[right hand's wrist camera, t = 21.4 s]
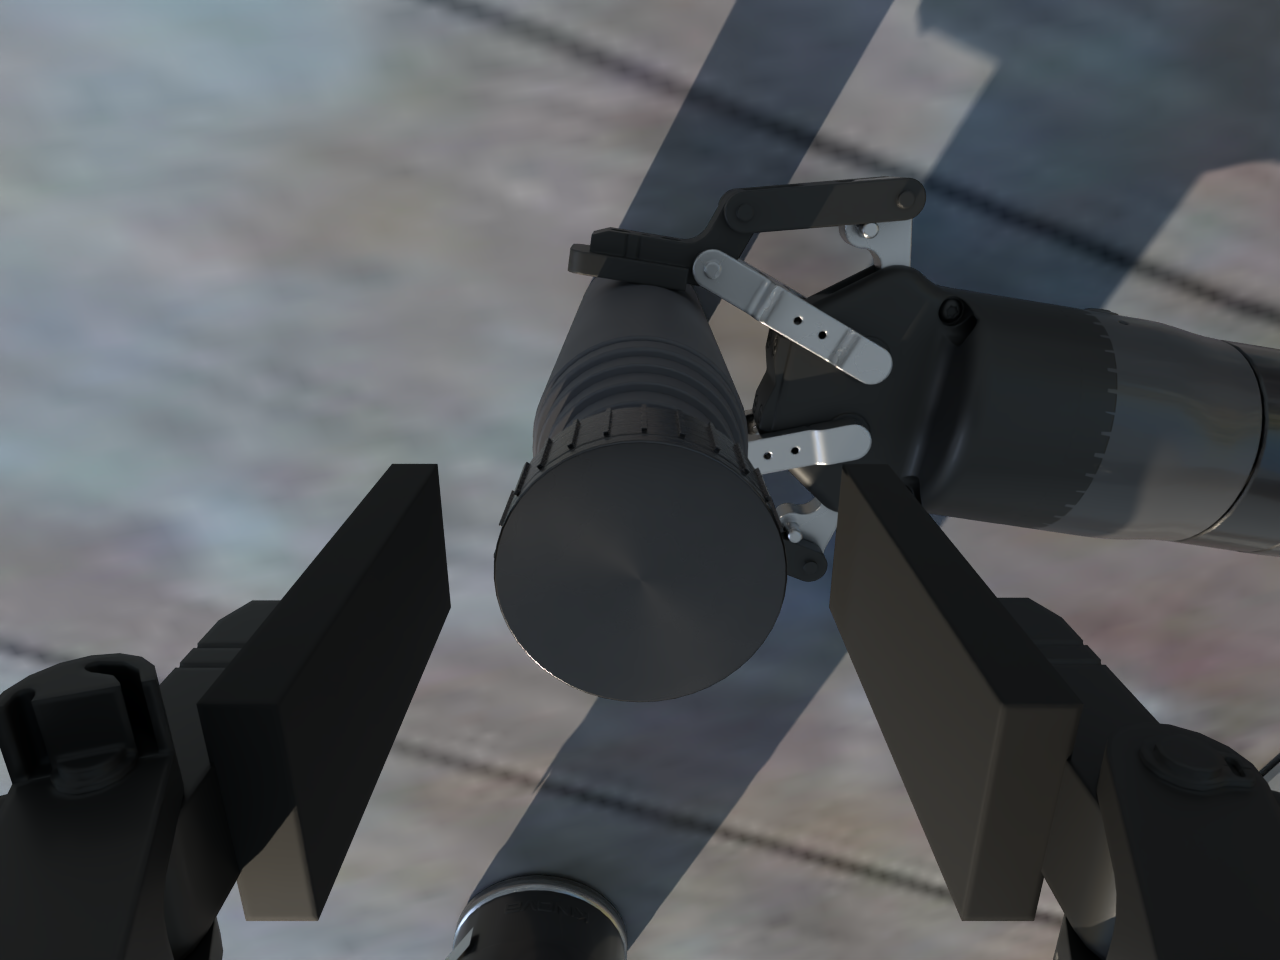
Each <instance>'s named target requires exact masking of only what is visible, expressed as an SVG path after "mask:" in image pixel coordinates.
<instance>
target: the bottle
mask: <svg viewBox="0 0 1280 960" xmlns="http://www.w3.org/2000/svg"><path fill="white" fill-rule="evenodd" d="M642 404H646V405H647V407H651V408H662V409H667V410H672V411H676V410H677V409H679V410H682V413H683V414H686V415H689V416H692V417H695V418H697V419H699V420H701V421H703V422H705V423H707V424H709V422H711V423H713V424H714V427H715V429H717V430H718V431H720V432H721V433H723V434H724V435H725V436H727V437H728V438H729V439H730V440H731V441H732V442H733V443H736V442H738V443H739V444H740V445H741V448H742V451H743V453H744V454H745V455H746V456H747V458H748V429H747V420H746V416H745V412H744V408H743V405H742V403H741V400H740V398H739V395H738V393H737V390H736V388H735V386H734V383H733V381H732V378H731V376H730V374H729V371H728V369H727V366H726V364H725V362H724V359H723V357H722V354H721V352H720V350H719V347H718V345H717V343H716V340H715V338H714V335H713V333H712V331H711V328H710V326H709V323H708V321H707V319H706V316H705V314H704V311H703V309H702V307H701V304H700V302H699V300H698V297H697V295H696V292H695V291H694V289H693V287H692V285H691V284H686V290H685V291H680V290H674V289H668V288H662V287H657V286H651V285H643V284H637V283H631V282H624V281H618V280H612V279H606V278H600V277H596V278H595V279H594V280H593V281H592V282H591V284H590V285H589V287H588V288H587V290H586V292H585V294H584V297H583V299H582V301H581V304H580V306H579V309H578V311H577V313H576V316H575V318H574V321H573V323H572V325H571V328H570V330H569V333H568V335H567V337H566V340H565V342H564V345H563V347H562V349H561V352H560V354H559V357H558V359H557V361H556V364H555V366H554V369H553V371H552V373H551V376H550V378H549V380H548V383H547V385H546V388H545V390H544V392H543V395H542V397H541V400H540V403H539V405H538V408H537V411H536V416H535V421H534V429H533V458H534V457H535V455H536V454H537V453H538V452H539V451H540V450H541V449H542V448H543V446H544V443H545V440H546V439H547V438H548V437H549V438H550V439H552V438H553V437H555V436H556V435H557V434H558V433H560V432H561V431H563V430H564V429H566V428H567V427H569V426H571V425H572V424H573V421H574V420H576V419H578V420H579V421H580V420H583V419H585V418H587V417H589V416H592V415H595V414H598V413H601V412H604V411H606V408H610V407H611V409H612V410H614V409H620V408H629V407H642Z"/></svg>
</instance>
